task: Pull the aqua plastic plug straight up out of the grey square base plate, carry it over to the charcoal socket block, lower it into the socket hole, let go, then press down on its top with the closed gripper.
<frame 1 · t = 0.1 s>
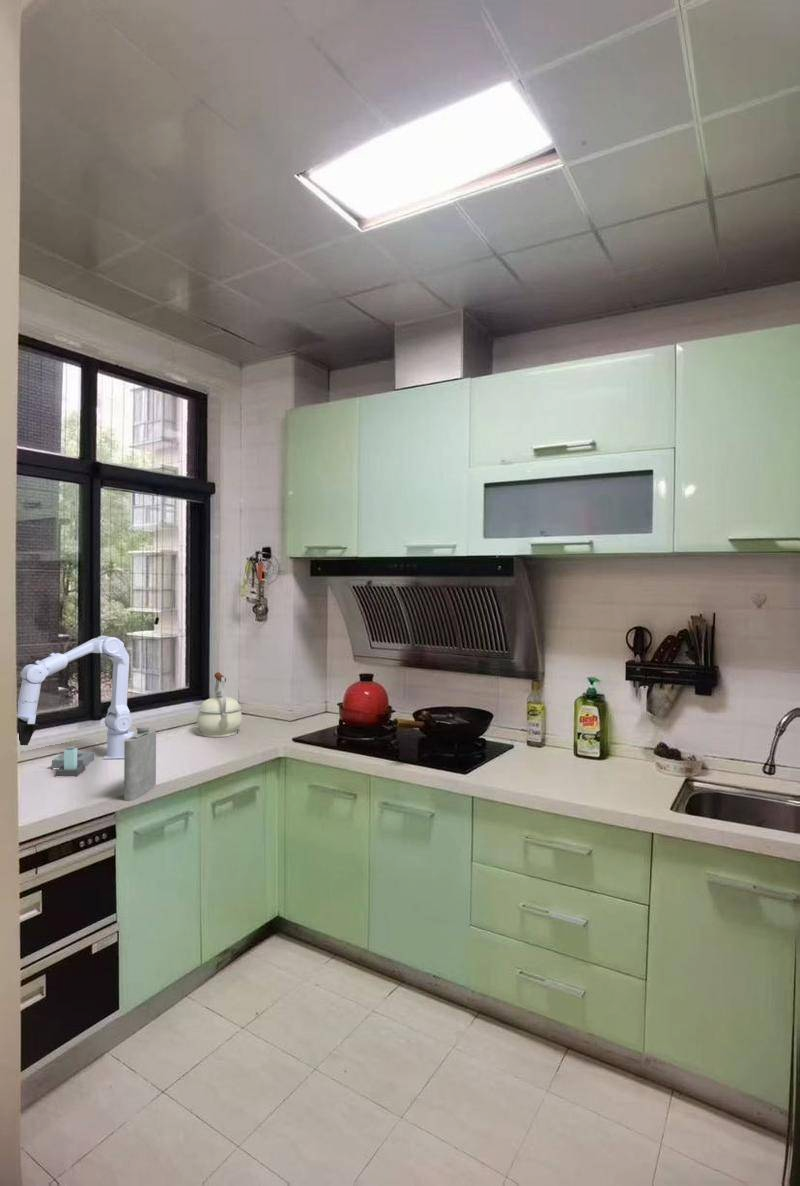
hand: (20, 742, 204), 11 cm above the countertop, tool pointing down, fingers open, 7 cm apart
plug: (70, 760, 206), in the grey square base plate
socket: (73, 764, 216), on the countertop
kettle: (220, 734, 261), on the countertop
hip flask: (141, 792, 190), on the countertop
grey square base plate: (70, 773, 206), on the countertop
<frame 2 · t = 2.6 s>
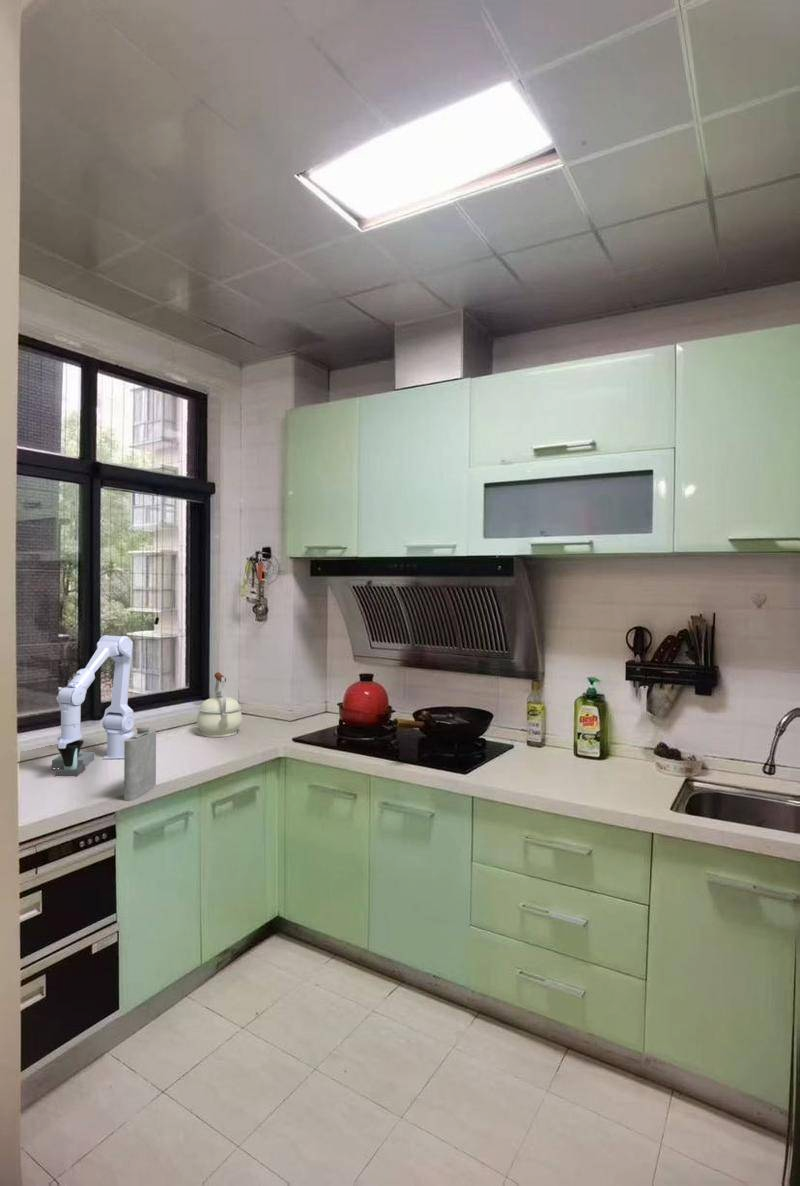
hand: (70, 764, 206), 3 cm above the countertop, tool pointing down, fingers closed on plug, 3 cm apart
plug: (70, 760, 206), in the grey square base plate, touching gripper
everything else where it was.
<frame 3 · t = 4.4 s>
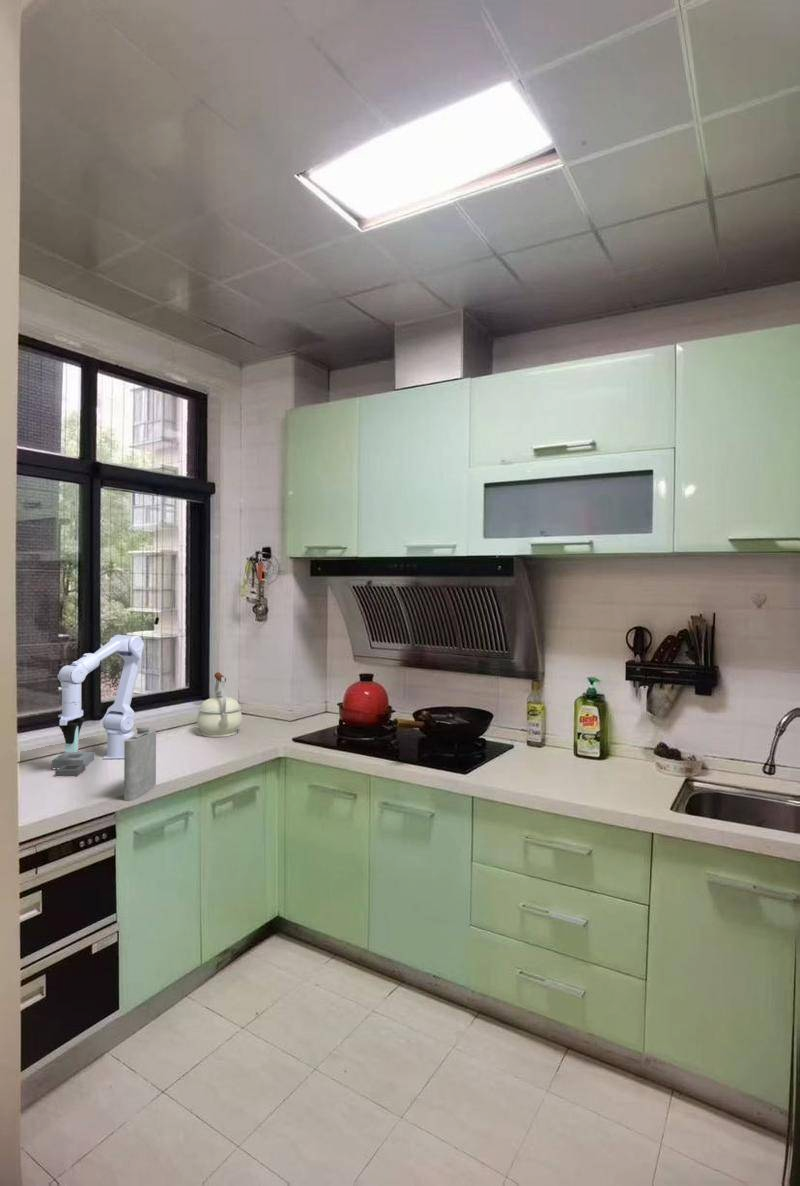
hand: (71, 742, 209), 10 cm above the countertop, tool pointing down, fingers closed on plug, 3 cm apart
plug: (71, 737, 209), point 11 cm above the countertop, touching gripper
everything else where it was.
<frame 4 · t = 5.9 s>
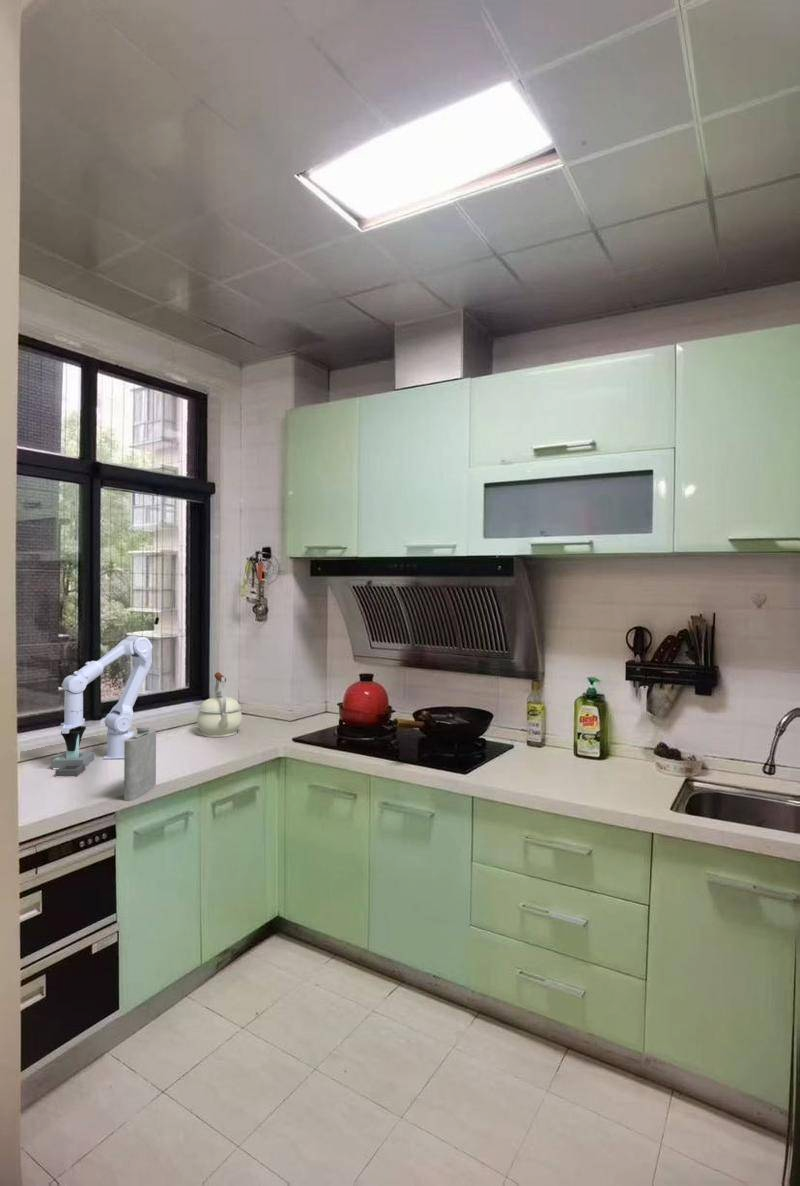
hand: (73, 749, 216), 5 cm above the countertop, tool pointing down, fingers closed on plug, 3 cm apart
plug: (72, 745, 216), point 7 cm above the countertop, touching gripper
everything else where it was.
when the fingers open (4 cm above the countertop, at t = 6.6 s): plug stays where it is, resting in socket.
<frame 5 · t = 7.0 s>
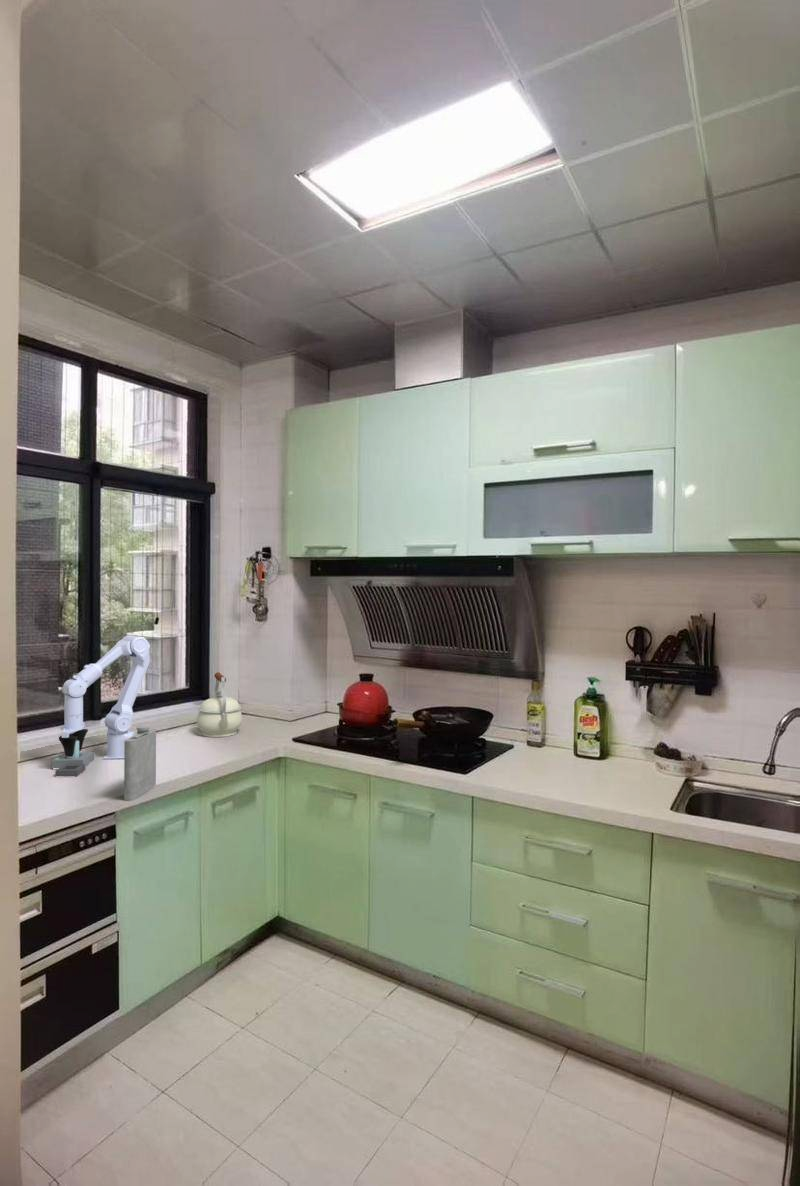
hand: (73, 753, 216), 4 cm above the countertop, tool pointing down, fingers open, 6 cm apart
plug: (72, 752, 216), in the socket
everything else where it was.
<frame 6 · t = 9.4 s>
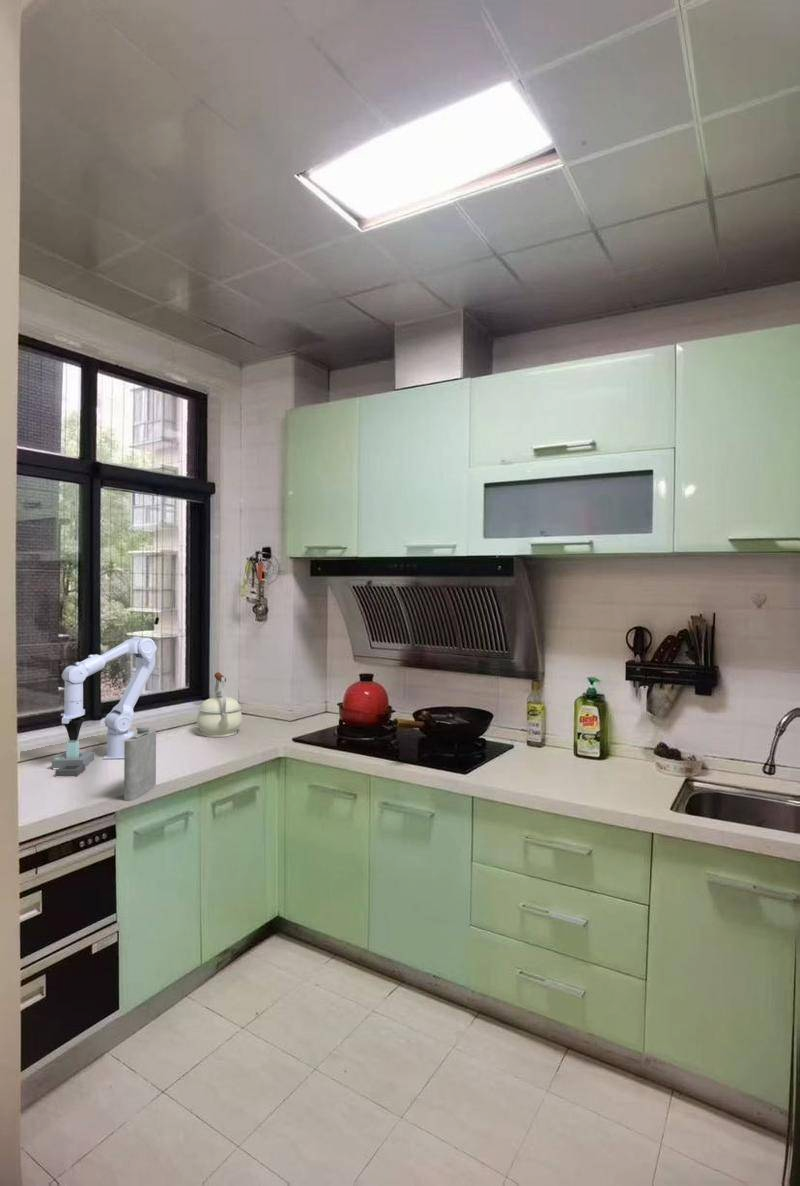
hand: (73, 739, 216), 9 cm above the countertop, tool pointing down, fingers closed, pressing on plug
plug: (72, 752, 216), in the socket, touching gripper
everything else where it was.
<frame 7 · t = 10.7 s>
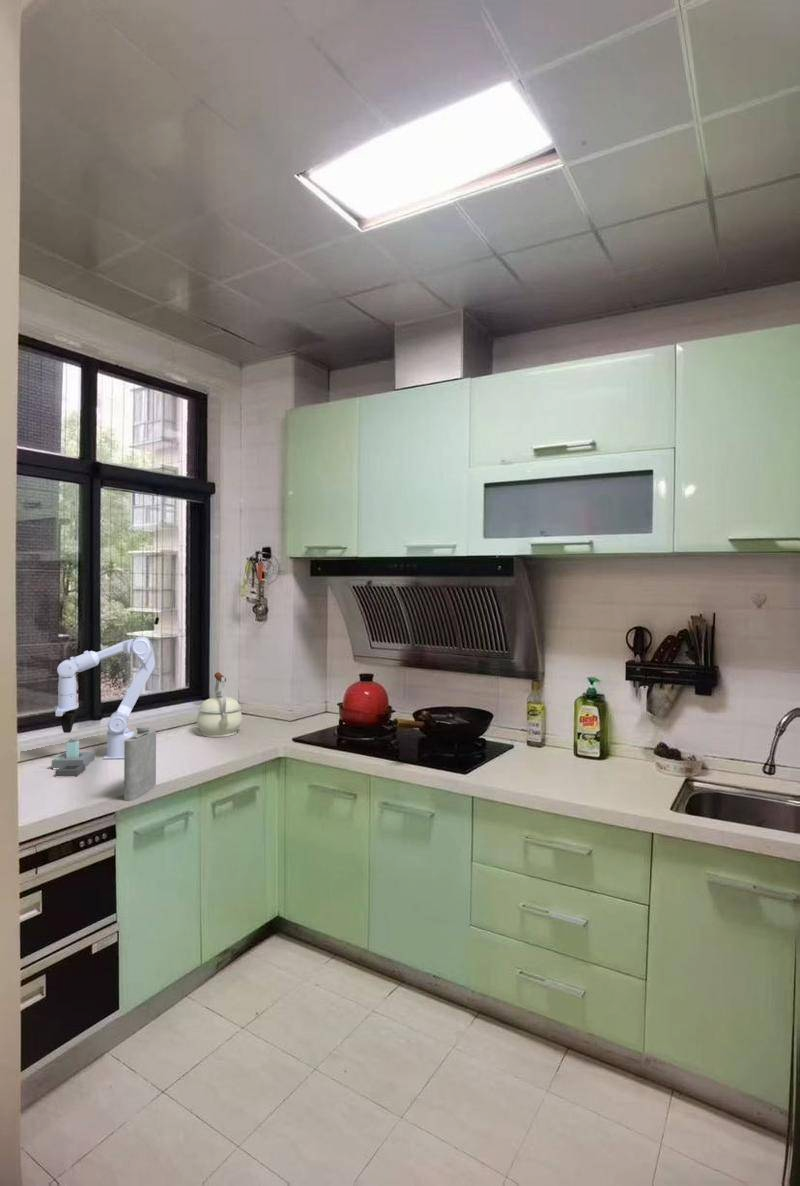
hand: (67, 732, 221), 10 cm above the countertop, tool pointing down, fingers closed
plug: (72, 752, 216), in the socket
everything else where it was.
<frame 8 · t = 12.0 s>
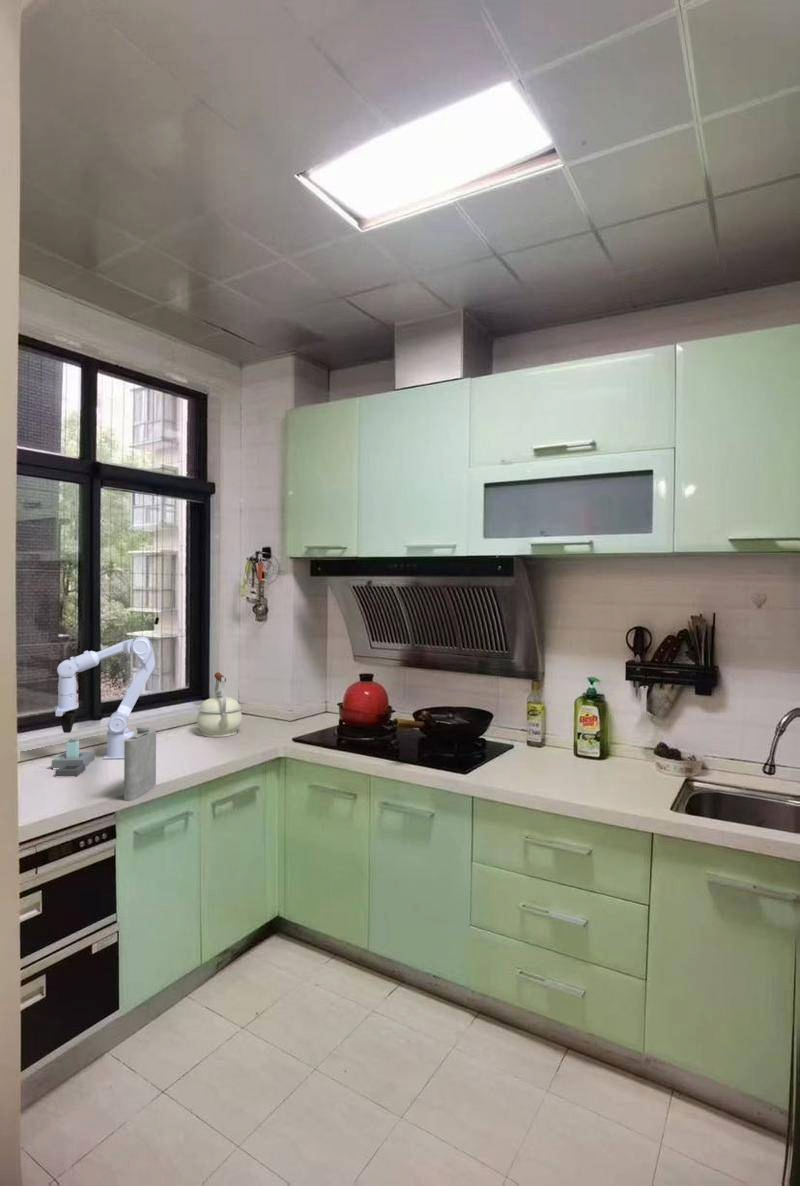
hand: (67, 732, 221), 10 cm above the countertop, tool pointing down, fingers closed
nothing on the countertop moved.
at the end: plug 0.3 cm off-centre on the socket, point 4.4 cm above the socket's base; plug tilted 0°; the gripper is holding nothing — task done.
